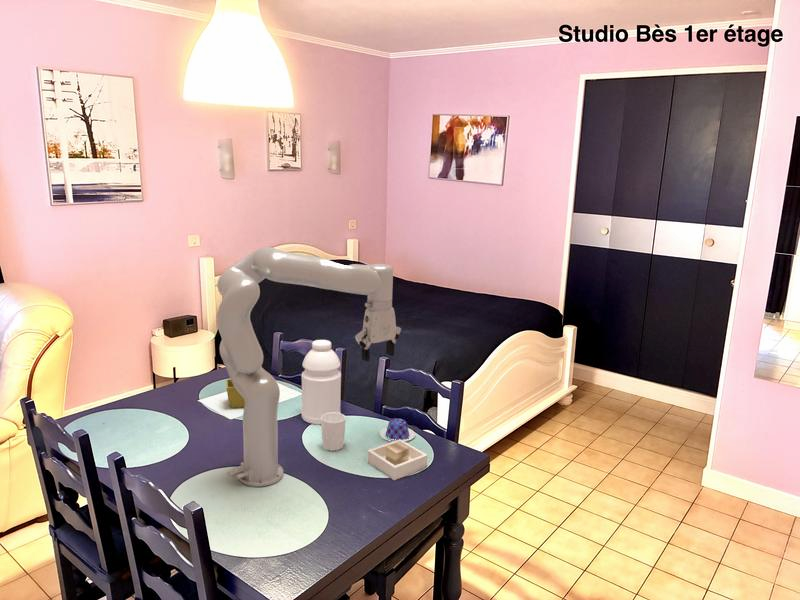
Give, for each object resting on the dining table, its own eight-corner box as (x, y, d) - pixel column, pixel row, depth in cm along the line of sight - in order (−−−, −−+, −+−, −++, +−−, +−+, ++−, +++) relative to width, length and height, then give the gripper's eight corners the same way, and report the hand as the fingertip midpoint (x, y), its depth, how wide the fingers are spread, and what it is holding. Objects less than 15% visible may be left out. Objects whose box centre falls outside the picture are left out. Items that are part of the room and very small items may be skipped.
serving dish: (394, 480, 172) (394, 467, 172) (367, 462, 182) (367, 450, 181) (427, 467, 181) (427, 455, 180) (399, 450, 190) (400, 439, 189)
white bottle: (323, 428, 203) (324, 351, 197) (293, 418, 210) (292, 343, 204) (348, 414, 215) (349, 341, 209) (318, 405, 222) (319, 334, 216)
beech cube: (395, 468, 178) (396, 453, 177) (385, 461, 181) (386, 446, 180) (408, 463, 181) (409, 448, 180) (398, 456, 185) (398, 442, 183)
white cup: (341, 453, 187) (341, 424, 185) (317, 450, 188) (317, 421, 186) (348, 442, 195) (348, 413, 192) (325, 439, 196) (325, 411, 194)
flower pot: (226, 401, 223) (225, 378, 220) (250, 399, 225) (250, 377, 223) (227, 411, 214) (226, 387, 212) (252, 408, 217) (251, 385, 215)
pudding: (400, 447, 193) (401, 432, 192) (372, 436, 200) (372, 422, 199) (421, 435, 202) (422, 420, 201) (394, 424, 209) (394, 411, 208)
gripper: (364, 310, 173) (362, 366, 177) (408, 303, 184) (406, 355, 188) (349, 305, 179) (348, 359, 183) (393, 298, 190) (391, 349, 194)
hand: (377, 357), depth 186 cm, fingers open, 9 cm apart
